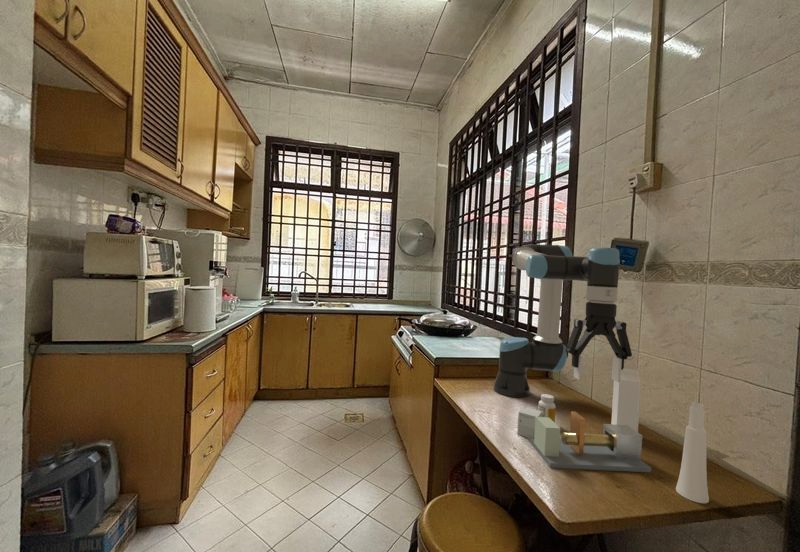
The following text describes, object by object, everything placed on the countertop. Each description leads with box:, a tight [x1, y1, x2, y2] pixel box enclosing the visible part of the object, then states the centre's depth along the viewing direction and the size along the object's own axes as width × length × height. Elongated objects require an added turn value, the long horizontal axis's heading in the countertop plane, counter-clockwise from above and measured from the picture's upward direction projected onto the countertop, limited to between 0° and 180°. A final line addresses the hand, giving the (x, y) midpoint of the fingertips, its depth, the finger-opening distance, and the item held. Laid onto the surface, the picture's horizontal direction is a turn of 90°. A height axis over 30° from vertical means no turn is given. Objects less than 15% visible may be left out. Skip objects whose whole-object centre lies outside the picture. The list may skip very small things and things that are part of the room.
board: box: [528, 437, 652, 473], centre depth 96 cm, size 14×27×1 cm, turn 91°
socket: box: [534, 417, 562, 457], centre depth 96 cm, size 7×4×8 cm, turn 1°
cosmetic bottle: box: [675, 401, 710, 504], centre depth 80 cm, size 6×6×22 cm
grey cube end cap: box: [602, 423, 643, 460], centre depth 96 cm, size 6×7×7 cm
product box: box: [516, 406, 542, 439], centre depth 108 cm, size 6×6×7 cm
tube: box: [560, 411, 614, 455], centre depth 96 cm, size 5×20×10 cm, turn 91°
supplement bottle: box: [537, 393, 557, 424], centre depth 116 cm, size 5×5×10 cm
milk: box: [610, 367, 642, 433], centre depth 111 cm, size 6×6×22 cm
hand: (596, 379), depth 96 cm, fingers open, 10 cm apart
